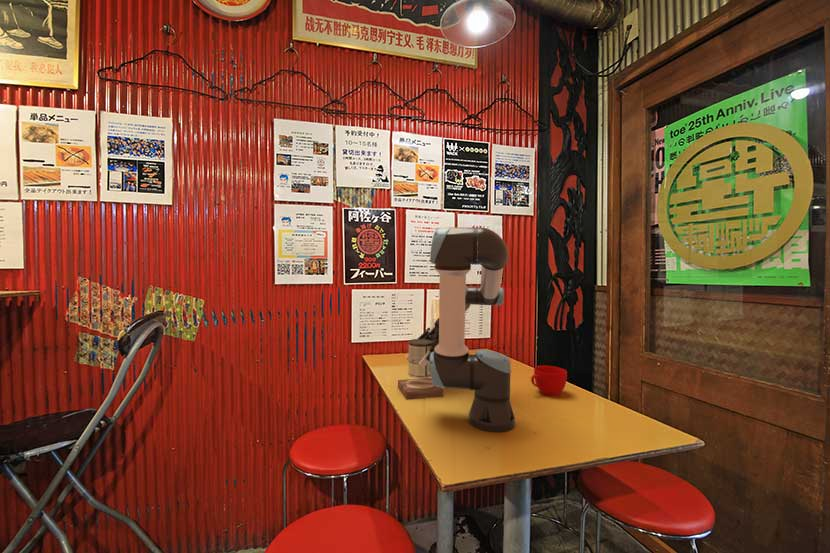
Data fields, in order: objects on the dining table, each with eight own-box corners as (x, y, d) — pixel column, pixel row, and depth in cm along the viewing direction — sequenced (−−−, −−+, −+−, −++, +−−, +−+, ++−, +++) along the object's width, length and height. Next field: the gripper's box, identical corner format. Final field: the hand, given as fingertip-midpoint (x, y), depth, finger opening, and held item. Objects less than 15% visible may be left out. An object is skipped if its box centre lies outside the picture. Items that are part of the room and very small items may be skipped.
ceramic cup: (519, 392, 150) (520, 368, 150) (548, 386, 158) (549, 364, 157) (543, 402, 138) (544, 376, 138) (573, 396, 146) (574, 372, 146)
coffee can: (409, 370, 153) (409, 338, 153) (433, 371, 152) (433, 339, 152) (406, 378, 143) (407, 343, 143) (431, 379, 142) (432, 344, 142)
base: (442, 396, 142) (442, 388, 142) (406, 399, 138) (406, 390, 138) (430, 384, 157) (431, 377, 157) (397, 387, 153) (398, 379, 153)
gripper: (467, 332, 146) (434, 375, 138) (436, 324, 165) (406, 361, 157) (457, 320, 143) (423, 363, 135) (426, 313, 162) (395, 351, 154)
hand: (414, 362), depth 146 cm, fingers closed on coffee can, 10 cm apart
